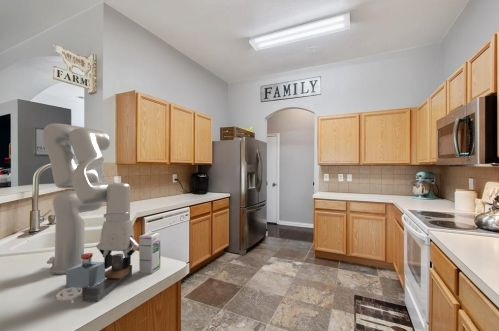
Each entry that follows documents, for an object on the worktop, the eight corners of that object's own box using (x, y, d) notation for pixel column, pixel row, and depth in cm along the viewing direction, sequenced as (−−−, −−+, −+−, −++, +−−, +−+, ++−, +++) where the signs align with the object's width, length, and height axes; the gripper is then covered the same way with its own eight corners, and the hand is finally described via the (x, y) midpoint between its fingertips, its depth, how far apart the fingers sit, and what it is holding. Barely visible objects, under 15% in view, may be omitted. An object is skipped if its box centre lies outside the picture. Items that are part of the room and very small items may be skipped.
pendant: (81, 286, 80) (82, 284, 80) (88, 299, 72) (88, 296, 72) (55, 294, 75) (55, 291, 75) (58, 308, 67) (58, 305, 67)
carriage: (104, 277, 81) (104, 257, 81) (113, 271, 86) (114, 252, 86) (120, 278, 80) (121, 258, 80) (129, 272, 85) (129, 253, 85)
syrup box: (152, 274, 89) (152, 236, 89) (138, 272, 90) (139, 235, 91) (160, 268, 95) (161, 232, 95) (147, 267, 96) (148, 231, 96)
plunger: (78, 267, 80) (78, 256, 80) (85, 263, 84) (86, 252, 84) (87, 267, 80) (87, 256, 80) (94, 263, 83) (95, 253, 83)
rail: (81, 301, 70) (82, 287, 70) (119, 275, 88) (119, 264, 88) (97, 301, 70) (97, 288, 70) (131, 275, 88) (132, 264, 88)
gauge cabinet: (65, 288, 78) (66, 270, 78) (84, 277, 86) (84, 261, 86) (88, 289, 77) (88, 271, 77) (105, 278, 85) (105, 262, 85)
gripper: (87, 219, 80) (86, 271, 80) (135, 219, 79) (134, 272, 79) (102, 215, 88) (101, 263, 87) (146, 215, 87) (146, 264, 86)
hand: (117, 267), depth 83 cm, fingers open, 6 cm apart
